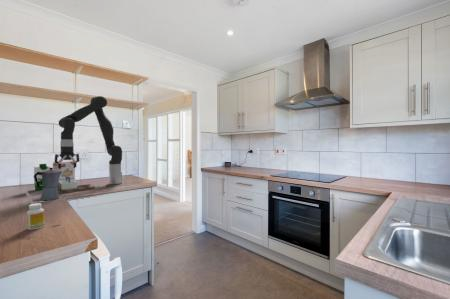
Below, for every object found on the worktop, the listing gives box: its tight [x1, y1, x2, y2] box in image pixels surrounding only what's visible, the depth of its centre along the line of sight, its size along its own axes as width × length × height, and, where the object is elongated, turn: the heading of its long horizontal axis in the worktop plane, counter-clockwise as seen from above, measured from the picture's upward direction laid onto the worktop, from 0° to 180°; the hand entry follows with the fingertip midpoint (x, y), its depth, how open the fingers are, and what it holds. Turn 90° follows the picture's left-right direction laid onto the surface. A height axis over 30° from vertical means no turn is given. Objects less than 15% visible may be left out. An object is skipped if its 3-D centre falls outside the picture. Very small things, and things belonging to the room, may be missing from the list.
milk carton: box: [33, 163, 51, 191], centre depth 161 cm, size 9×9×20 cm
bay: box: [57, 182, 96, 195], centre depth 158 cm, size 23×13×9 cm, turn 136°
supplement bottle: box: [26, 202, 45, 231], centre depth 90 cm, size 5×5×10 cm
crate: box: [59, 176, 78, 190], centre depth 155 cm, size 9×10×10 cm
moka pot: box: [33, 167, 62, 201], centre depth 134 cm, size 10×15×20 cm, turn 161°
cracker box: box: [52, 160, 76, 182], centre depth 168 cm, size 14×6×21 cm, turn 168°
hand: (67, 168), depth 154 cm, fingers open, 8 cm apart
